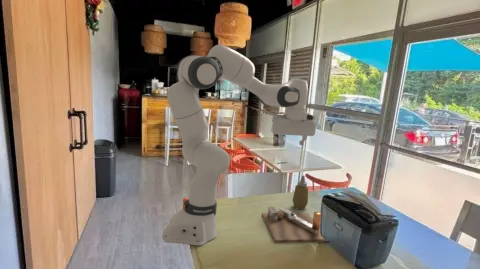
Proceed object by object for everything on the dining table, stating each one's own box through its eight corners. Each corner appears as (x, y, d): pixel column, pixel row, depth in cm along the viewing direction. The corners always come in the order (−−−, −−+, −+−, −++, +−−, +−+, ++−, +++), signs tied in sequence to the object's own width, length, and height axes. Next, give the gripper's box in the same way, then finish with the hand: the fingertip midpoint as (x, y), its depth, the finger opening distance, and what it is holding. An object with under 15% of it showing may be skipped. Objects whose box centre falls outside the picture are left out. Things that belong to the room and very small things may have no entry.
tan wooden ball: (276, 220, 124) (277, 213, 124) (274, 216, 128) (275, 209, 127) (283, 220, 125) (284, 213, 124) (281, 216, 128) (282, 209, 128)
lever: (315, 235, 113) (317, 216, 111) (277, 214, 129) (279, 197, 128) (321, 232, 116) (323, 213, 114) (283, 212, 132) (285, 195, 130)
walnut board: (274, 242, 108) (275, 230, 107) (261, 215, 130) (262, 204, 129) (329, 241, 112) (331, 229, 111) (307, 215, 134) (309, 205, 133)
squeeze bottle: (310, 209, 142) (314, 177, 138) (299, 212, 137) (303, 179, 134) (299, 203, 148) (302, 172, 145) (288, 205, 144) (292, 174, 140)
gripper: (274, 114, 115) (271, 145, 118) (318, 117, 118) (314, 146, 121) (271, 112, 121) (268, 142, 124) (312, 115, 125) (309, 143, 127)
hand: (291, 144), depth 122 cm, fingers open, 8 cm apart
